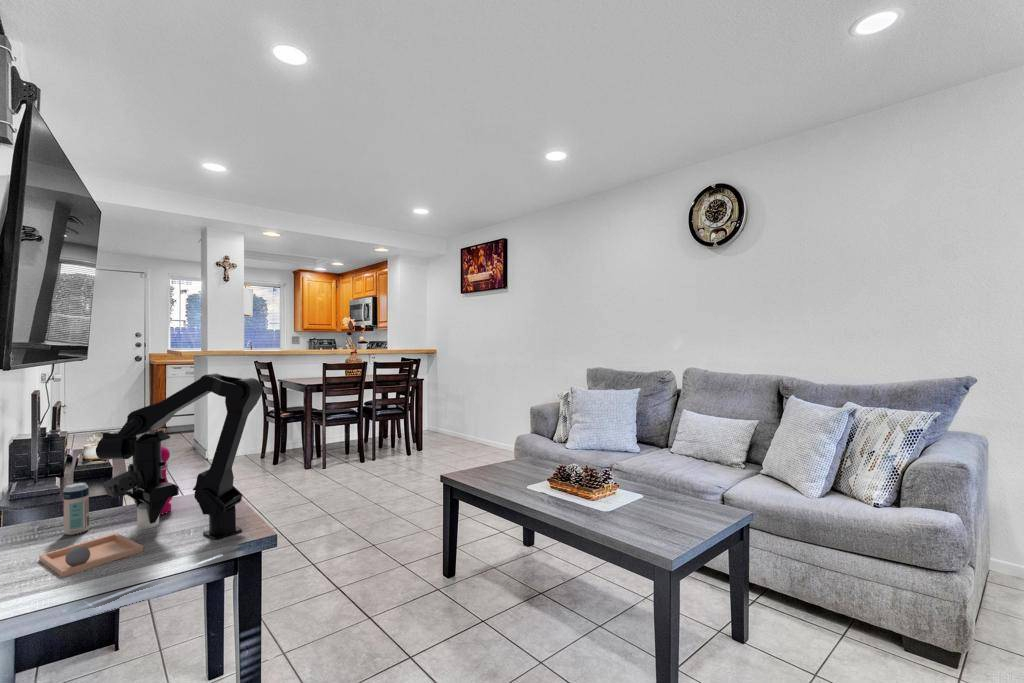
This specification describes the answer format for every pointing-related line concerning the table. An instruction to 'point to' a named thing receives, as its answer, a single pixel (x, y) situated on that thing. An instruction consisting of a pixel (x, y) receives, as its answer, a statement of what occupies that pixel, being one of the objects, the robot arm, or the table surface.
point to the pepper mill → (164, 457)
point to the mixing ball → (77, 556)
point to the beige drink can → (76, 508)
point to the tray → (92, 554)
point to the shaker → (144, 518)
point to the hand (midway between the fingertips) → (148, 521)
